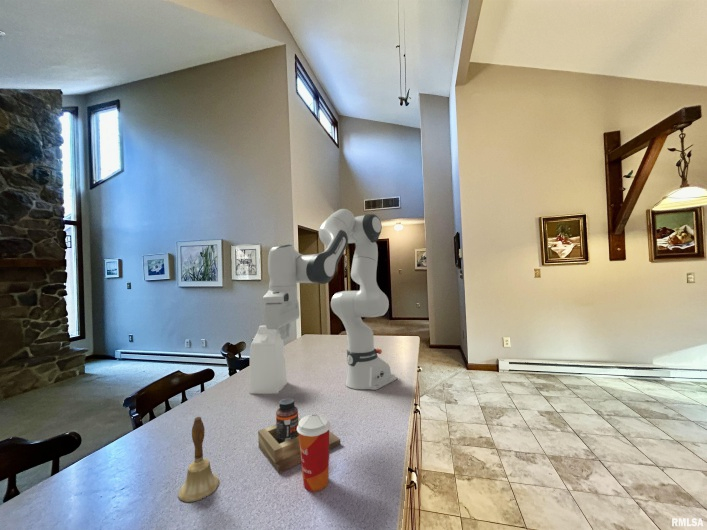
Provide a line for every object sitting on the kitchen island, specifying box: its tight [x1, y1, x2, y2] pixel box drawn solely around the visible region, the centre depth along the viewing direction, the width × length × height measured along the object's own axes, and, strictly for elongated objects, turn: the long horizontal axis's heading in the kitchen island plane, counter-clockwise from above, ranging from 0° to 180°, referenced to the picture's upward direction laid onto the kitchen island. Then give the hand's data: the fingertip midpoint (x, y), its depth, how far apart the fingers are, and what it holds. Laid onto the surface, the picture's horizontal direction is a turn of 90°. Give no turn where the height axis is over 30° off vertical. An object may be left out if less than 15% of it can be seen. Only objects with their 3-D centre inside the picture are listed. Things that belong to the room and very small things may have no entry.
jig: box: [257, 417, 341, 474], centre depth 83 cm, size 18×14×4 cm
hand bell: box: [177, 416, 220, 503], centre depth 68 cm, size 8×8×16 cm
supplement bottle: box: [275, 397, 299, 444], centre depth 83 cm, size 6×6×11 cm
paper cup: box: [297, 413, 332, 493], centre depth 69 cm, size 8×8×14 cm
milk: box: [248, 325, 288, 394], centre depth 127 cm, size 12×12×26 cm
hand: (285, 337), depth 97 cm, fingers closed
